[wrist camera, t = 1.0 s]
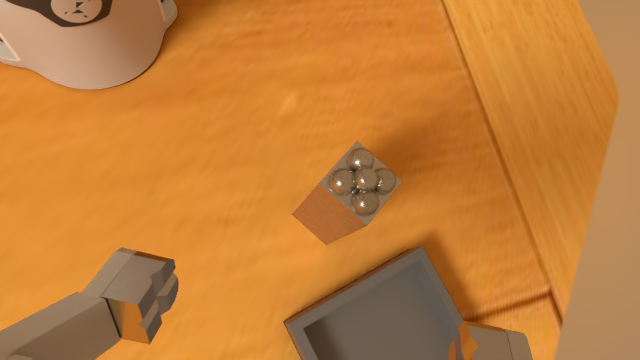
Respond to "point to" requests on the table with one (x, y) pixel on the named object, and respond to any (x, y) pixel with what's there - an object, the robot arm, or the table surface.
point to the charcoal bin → (381, 316)
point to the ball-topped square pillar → (347, 196)
